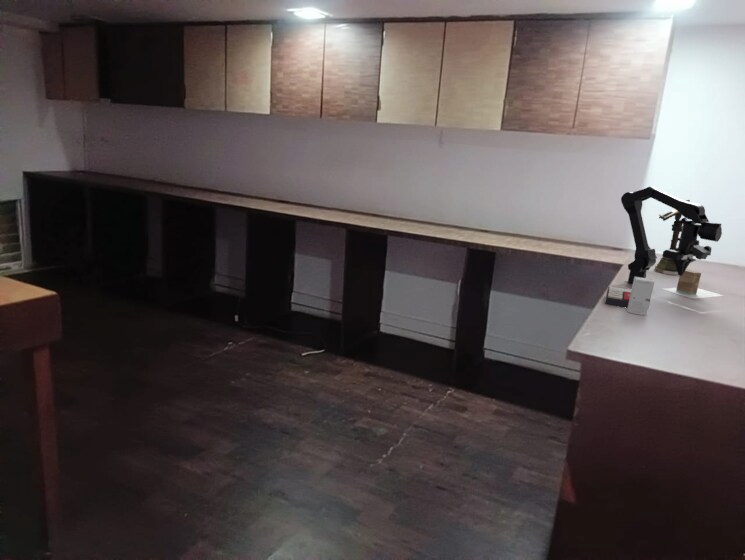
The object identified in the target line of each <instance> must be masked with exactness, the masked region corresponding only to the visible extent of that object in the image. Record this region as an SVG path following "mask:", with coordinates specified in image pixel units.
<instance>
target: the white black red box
mask: <svg viewBox="0 0 745 560" xmlns="http://www.w3.org/2000/svg"><path fill="white" fill-rule="evenodd" d="M631 290H632V289H627V288H622V287H615V286H608V287H607V291H606V297H605V302H604V304H605V305H607V306H613V307H617V306H619V307H618V308H623V307H626V308H625V309H627V308H628V303H629V299H630V294H631Z"/></svg>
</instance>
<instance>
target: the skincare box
mask: <svg viewBox="0 0 745 560" xmlns="http://www.w3.org/2000/svg"><path fill="white" fill-rule="evenodd" d="M654 285H655V281H654V280H653V279H652V278H647V277H646V278H640V277H634V281H633V284H631V289H630V290H631V294H630V299H629V303H628V308H626V310H627V313H628V312H629V314H635V315H640V316H647V315H648V311H649V307H650V302H651V297H652V294H653V290H654Z"/></svg>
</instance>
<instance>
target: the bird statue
mask: <svg viewBox="0 0 745 560" xmlns="http://www.w3.org/2000/svg"><path fill="white" fill-rule="evenodd" d="M685 201H687V202H690V199H686V200H685ZM658 216H659V217H658V219H661V220H662V221H663V222H665V221H668V219H670V218H673V217H674V219H675V221H673V223H672V224H671V231H672V236H671V239H670V247H669V248H668V249H667V250H675V248H677V247H678V246H677V245H678V243H679V241H678V240H677V238H679V236H680V233H681V232H682V227H683V224H680V223H678V221H680V220H681V219H682V217H683V215H681V214H680V213H679V212H678V211H677V210H676V209H674V210H668V211H667V212H665V213H662V214H661V213H659V214H658ZM654 266H655V267H654V272H656V273H657V272H658V273H661V274H664V275H670V276H679V275H678V272H677V269H676V265H675V263H674V260H673V259H671V258H667V257H663V256H662V257H661V258H660V260H659V261H658V263H657V264H656V265H654Z"/></svg>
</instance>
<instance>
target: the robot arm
mask: <svg viewBox="0 0 745 560" xmlns="http://www.w3.org/2000/svg"><path fill="white" fill-rule="evenodd" d="M649 199H654V200H655V201H658V202H659V203H662V204H664V205H666V206H668V207H670V208H671V209H674V210H675V209H676V210H677V211H678V212H679V213H680V214H681V215H682V217H681V218H680V221H678V223H680V224H683V225H682V226H683V227H682V232H680V235H679V236H680V237H678V238H677V240H678V244H677V245H678V246H677V247H676V248H675V250H668V249H665V250H664V251H662V257H667V258H671V259H673V260H674V263H675V265H676V269H677V272H678V275H677V276H682V275H683V273H684V271H685V270H686V269H688V266H689V265H690V264H691V263H693V262H696V261H697V259H698V260H706V259H707V257H708V256H711V253H712V247H711V246H709V245H705V246H701V245H700V240H698V237H699V238H700V239H701V240H706V241H712V242H716V243H717V242H719V241H720V240H721V237H722V234H723V233H722V230H723V229H722V223H719V222H710V221H709V219H708V217H707V215H706V209H705V207H704V205H702V204H699V203H696V202H693V201H691V202H687V201H686V200H683V199H680V198H679V197H677V196H675V195H672V194H669V193H668V192H666V191H663V190H661V189H659V188H657V187H656V186H648V187H645V188H641V189H639V190H636V191H629V192H625V193H623V195H622V196H621V198H620V201H621V204H622V207H623V208H624V210H625V212H626V213H627V214H628V217H629V218H628V219H629V222H630V227H631V231H632V235H633V236H632V237H633V240H634V244H635V251H634V260H633V261H631V262H630V263H629V264H627V268H628V269H627V270H628V271H629V275H628V280H627V281H625V280H624V283H627V284H631V285H633V281H634V277H640V278H646V279H647V272H648V271H650V269H651V268H653V267H654V266H655V264H656V262H657V259H658V257H657V254H656V249H655V248H651V247H650V245H649V243H648V239H647V238H648V237H647V235H646V230H645V225H644V220H643V217H642V208H643V202H644V201H647V200H649ZM694 257H695V258H696V259H695V258H694Z"/></svg>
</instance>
